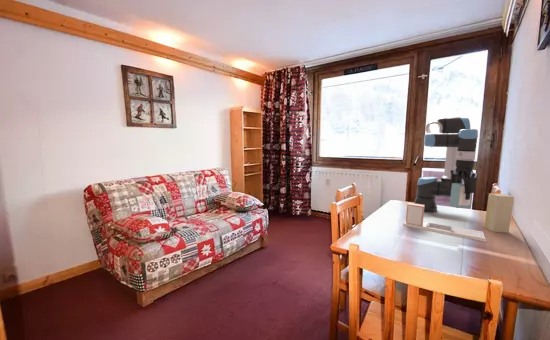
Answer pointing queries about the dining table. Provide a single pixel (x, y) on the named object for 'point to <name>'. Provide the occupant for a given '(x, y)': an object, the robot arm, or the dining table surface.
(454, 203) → the teal carton
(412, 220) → the terracotta carton
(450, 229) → the shelf
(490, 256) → the dining table surface
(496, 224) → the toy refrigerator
